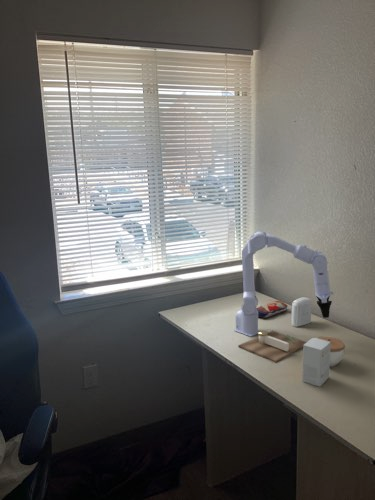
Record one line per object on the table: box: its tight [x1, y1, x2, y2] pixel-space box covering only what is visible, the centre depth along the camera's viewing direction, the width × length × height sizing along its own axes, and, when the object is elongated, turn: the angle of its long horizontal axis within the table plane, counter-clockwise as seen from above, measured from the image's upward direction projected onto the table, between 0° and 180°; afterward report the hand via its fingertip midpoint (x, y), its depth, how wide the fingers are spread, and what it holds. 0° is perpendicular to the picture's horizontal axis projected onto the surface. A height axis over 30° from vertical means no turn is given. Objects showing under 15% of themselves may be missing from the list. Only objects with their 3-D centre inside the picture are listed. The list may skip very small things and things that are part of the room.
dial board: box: [237, 330, 308, 363], centre depth 163 cm, size 18×22×1 cm
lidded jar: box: [317, 336, 346, 367], centre depth 148 cm, size 11×11×9 cm
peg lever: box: [257, 329, 289, 351], centre depth 160 cm, size 14×4×4 cm, turn 41°
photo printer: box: [290, 296, 313, 328], centre depth 184 cm, size 10×4×12 cm, turn 123°
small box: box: [301, 337, 331, 388], centre depth 136 cm, size 8×6×13 cm
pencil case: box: [256, 300, 288, 319], centre depth 199 cm, size 11×20×5 cm, turn 115°
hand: (325, 314), depth 168 cm, fingers open, 7 cm apart
